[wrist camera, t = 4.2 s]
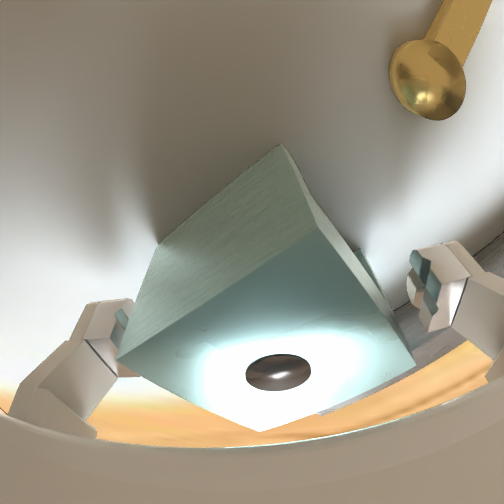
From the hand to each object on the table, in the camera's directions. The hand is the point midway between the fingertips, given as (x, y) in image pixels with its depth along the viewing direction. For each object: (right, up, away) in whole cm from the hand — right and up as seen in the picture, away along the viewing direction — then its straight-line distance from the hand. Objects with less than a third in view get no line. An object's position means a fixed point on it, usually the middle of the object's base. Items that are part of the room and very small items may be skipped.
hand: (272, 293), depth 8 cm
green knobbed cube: (0, +1, +2) cm, 2 cm away
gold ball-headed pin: (+6, +8, -3) cm, 11 cm away
